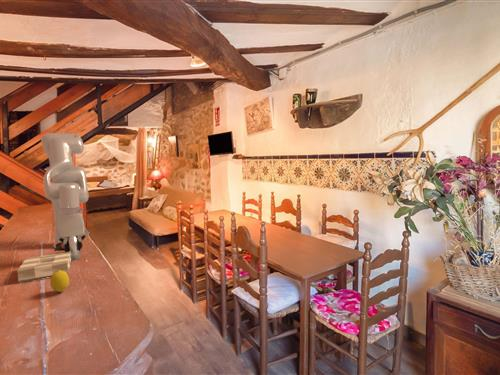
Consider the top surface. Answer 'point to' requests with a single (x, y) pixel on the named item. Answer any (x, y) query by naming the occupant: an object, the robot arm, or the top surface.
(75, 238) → the pin
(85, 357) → the top surface
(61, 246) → the pottery mug
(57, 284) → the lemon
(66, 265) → the bore block
